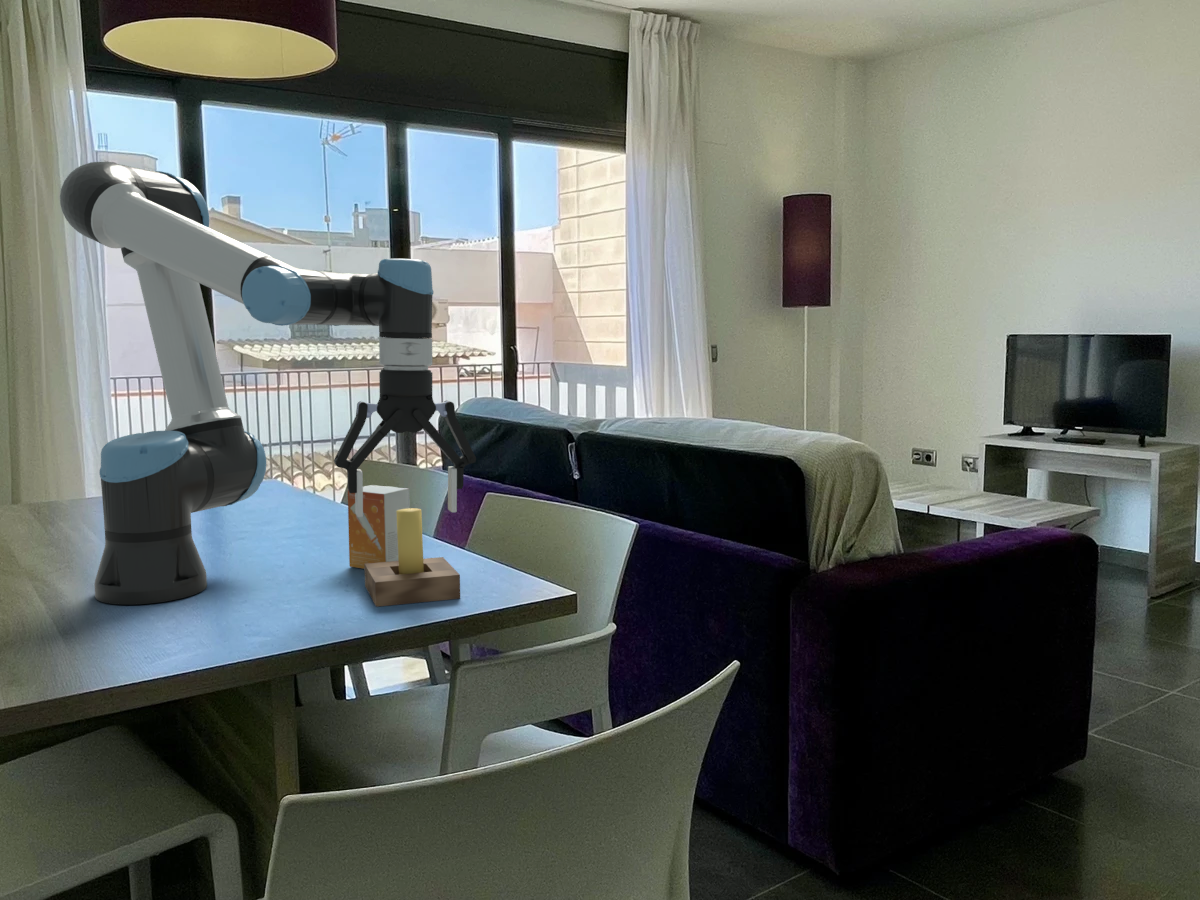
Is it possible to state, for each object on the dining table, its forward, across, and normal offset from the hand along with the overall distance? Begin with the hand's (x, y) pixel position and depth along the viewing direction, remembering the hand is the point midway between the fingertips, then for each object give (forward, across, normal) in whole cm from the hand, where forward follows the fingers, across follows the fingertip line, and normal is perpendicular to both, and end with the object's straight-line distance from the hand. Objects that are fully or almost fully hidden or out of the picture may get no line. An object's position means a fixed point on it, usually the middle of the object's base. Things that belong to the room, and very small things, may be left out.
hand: (406, 513), depth 143 cm
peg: (+12, +1, -1) cm, 12 cm away
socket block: (+12, +1, 0) cm, 12 cm away
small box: (+12, -1, +17) cm, 21 cm away
